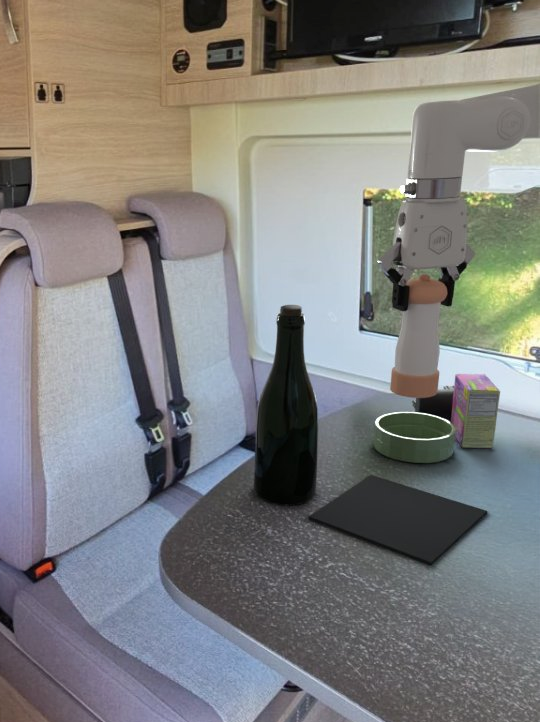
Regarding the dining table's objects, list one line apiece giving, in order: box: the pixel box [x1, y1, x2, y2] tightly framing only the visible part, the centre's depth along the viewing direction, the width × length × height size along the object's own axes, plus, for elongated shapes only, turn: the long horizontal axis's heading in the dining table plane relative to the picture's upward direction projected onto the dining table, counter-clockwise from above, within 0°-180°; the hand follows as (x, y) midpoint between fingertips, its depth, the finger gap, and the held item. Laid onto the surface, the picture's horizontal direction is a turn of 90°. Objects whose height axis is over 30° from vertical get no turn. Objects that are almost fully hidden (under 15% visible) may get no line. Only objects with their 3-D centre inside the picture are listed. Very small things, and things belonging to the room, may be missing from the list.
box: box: [450, 373, 501, 449], centre depth 140 cm, size 10×6×12 cm, turn 168°
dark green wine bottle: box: [253, 304, 319, 506], centre depth 119 cm, size 10×10×33 cm
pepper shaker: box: [389, 273, 447, 399], centre depth 115 cm, size 7×7×19 cm
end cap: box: [411, 385, 454, 421], centre depth 151 cm, size 10×7×7 cm
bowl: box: [372, 411, 456, 464], centre depth 138 cm, size 14×14×5 cm
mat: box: [308, 474, 488, 566], centre depth 115 cm, size 20×20×1 cm
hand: (421, 306), depth 114 cm, fingers closed on pepper shaker, 7 cm apart
